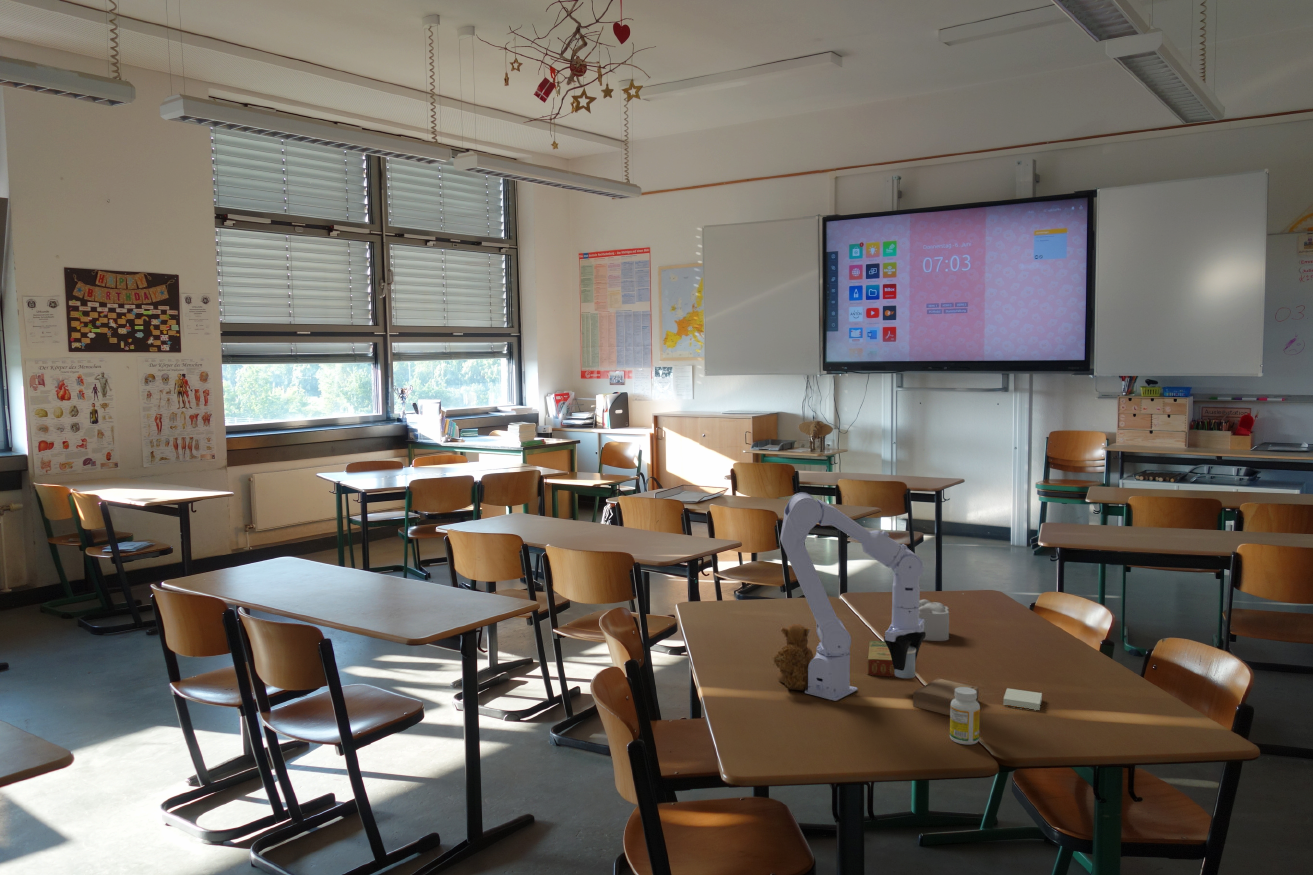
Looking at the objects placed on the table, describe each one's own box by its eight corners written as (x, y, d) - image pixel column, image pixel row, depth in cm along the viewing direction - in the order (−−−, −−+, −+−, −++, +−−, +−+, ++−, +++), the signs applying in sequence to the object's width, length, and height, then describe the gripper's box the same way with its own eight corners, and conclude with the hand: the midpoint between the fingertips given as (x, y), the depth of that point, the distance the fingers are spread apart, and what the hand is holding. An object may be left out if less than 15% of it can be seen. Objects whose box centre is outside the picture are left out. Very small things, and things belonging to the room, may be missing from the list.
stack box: (954, 716, 189) (954, 701, 189) (913, 706, 195) (913, 691, 195) (978, 700, 198) (978, 686, 198) (938, 691, 204) (938, 677, 204)
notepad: (1039, 713, 192) (1039, 703, 192) (1003, 707, 195) (1003, 698, 195) (1041, 702, 198) (1041, 692, 198) (1006, 697, 201) (1006, 688, 201)
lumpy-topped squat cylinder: (949, 642, 241) (949, 609, 240) (897, 638, 245) (897, 606, 244) (947, 631, 251) (948, 599, 250) (898, 627, 255) (898, 596, 254)
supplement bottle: (956, 745, 174) (957, 695, 174) (945, 734, 180) (945, 686, 179) (984, 744, 175) (985, 694, 174) (971, 733, 180) (972, 685, 179)
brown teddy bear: (823, 676, 214) (824, 620, 213) (814, 697, 201) (814, 637, 200) (780, 672, 217) (780, 617, 216) (768, 692, 204) (769, 633, 203)
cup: (909, 679, 200) (909, 652, 200) (889, 675, 203) (889, 648, 203) (919, 674, 204) (919, 647, 203) (899, 669, 207) (899, 643, 206)
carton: (867, 676, 215) (867, 657, 215) (868, 655, 231) (868, 638, 231) (904, 678, 213) (904, 660, 213) (903, 657, 229) (903, 640, 229)
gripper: (907, 615, 194) (905, 678, 195) (937, 602, 205) (936, 662, 206) (876, 609, 199) (875, 671, 200) (908, 597, 210) (906, 656, 211)
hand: (904, 666), depth 203 cm, fingers closed on cup, 4 cm apart
